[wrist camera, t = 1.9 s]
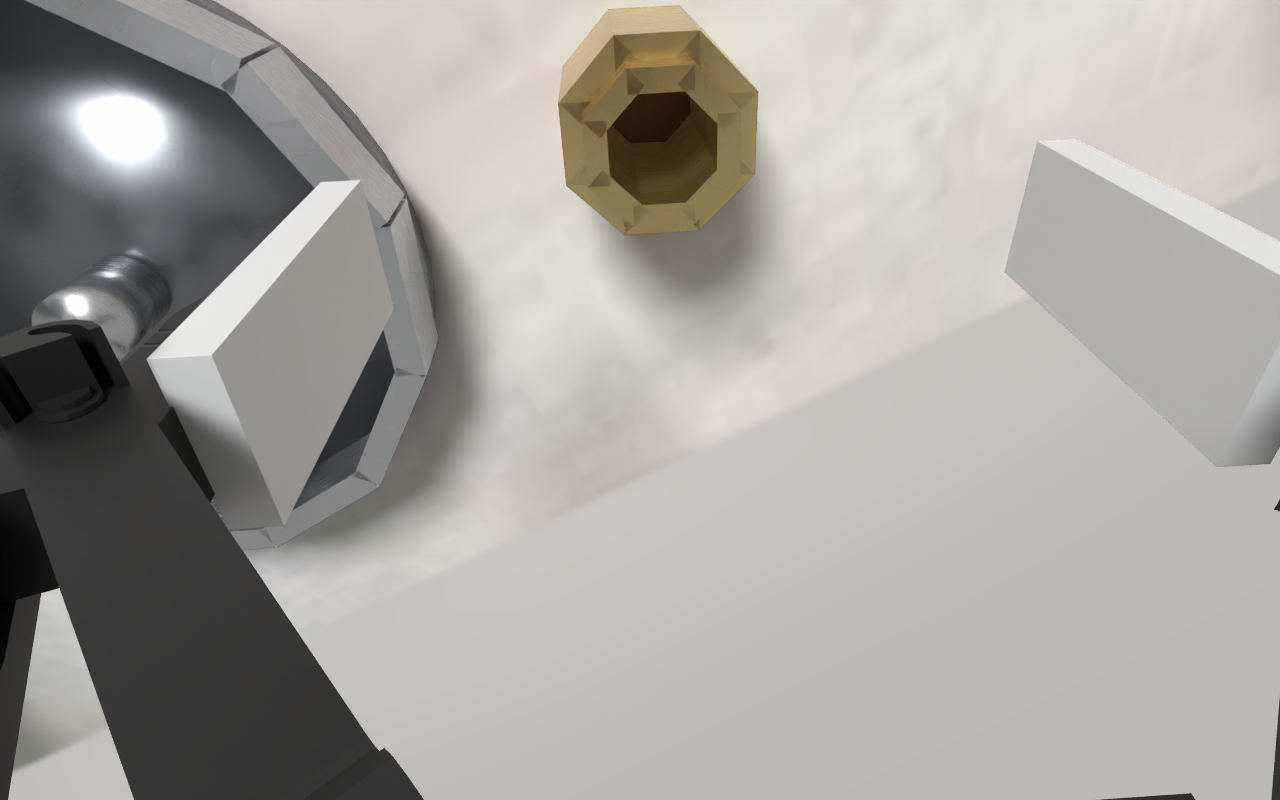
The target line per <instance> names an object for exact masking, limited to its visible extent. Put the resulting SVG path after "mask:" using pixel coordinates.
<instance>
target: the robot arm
mask: <svg viewBox="0 0 1280 800" xmlns="http://www.w3.org/2000/svg"><path fill="white" fill-rule="evenodd" d="M1005 273H1006V274H1007V275H1008V276H1009V277H1010V278H1011V279H1013V280H1014V281H1015V282H1016V283H1017V284H1018V285H1019V286H1020V287H1021V288H1022V289H1023V290H1024V291H1026V292H1027V293H1028V294H1029V295H1030V296H1031V297H1032V298H1033V299H1034V300H1035V301H1036V302H1038V303H1039V304H1040V305H1041V306H1042V307H1043V308H1044V309H1045V310H1046V311H1047V312H1048V313H1050V314H1051V315H1052V316H1053V317H1054V318H1055V319H1056V320H1057V321H1058V322H1059V323H1060V324H1061V325H1063V326H1064V327H1065V328H1066V329H1067V330H1068V331H1069V332H1070V333H1071V334H1072V335H1073V336H1075V337H1076V338H1077V339H1078V340H1079V341H1080V342H1081V343H1082V344H1083V345H1084V346H1085V347H1087V348H1088V349H1089V350H1090V351H1091V352H1092V353H1093V354H1094V355H1095V356H1096V357H1097V358H1098V359H1100V360H1101V361H1102V362H1103V363H1104V364H1105V365H1106V366H1107V367H1108V368H1109V369H1111V370H1112V371H1113V372H1114V373H1115V374H1116V375H1117V376H1118V377H1119V378H1120V379H1121V380H1122V381H1123V382H1125V383H1126V384H1127V385H1128V386H1129V387H1130V388H1131V389H1132V390H1133V391H1134V392H1135V393H1137V394H1138V395H1139V396H1140V397H1141V398H1142V399H1143V400H1144V401H1145V402H1146V403H1147V404H1149V405H1150V406H1151V407H1152V408H1153V409H1154V410H1155V411H1156V412H1157V413H1158V414H1159V415H1161V416H1162V417H1163V418H1164V419H1165V420H1166V421H1167V422H1168V423H1169V424H1170V425H1172V427H1174V428H1175V429H1176V430H1177V431H1178V432H1179V433H1180V434H1181V435H1182V436H1184V438H1185V439H1187V440H1188V441H1189V442H1190V443H1191V444H1192V445H1193V446H1194V447H1195V448H1196V449H1198V450H1199V451H1200V452H1201V453H1202V454H1203V455H1204V456H1205V457H1206V458H1208V460H1209V461H1211V462H1212V463H1213V464H1214V465H1215V466H1216V467H1228V466H1244V465H1259V464H1270V463H1271V461H1272V460H1273V458H1274V456H1275V454H1276V452H1277V451H1278V449H1279V447H1280V241H1278V240H1276V239H1274V238H1273V237H1271V236H1269V235H1266V234H1265V233H1263V232H1260V231H1259V230H1256V229H1254V228H1253V227H1250V226H1249V225H1247V224H1244V223H1243V222H1240V221H1239V220H1236V219H1235V218H1232V217H1231V216H1229V215H1227V214H1225V213H1223V212H1221V211H1219V210H1217V209H1215V208H1213V207H1211V206H1209V205H1207V204H1205V203H1203V202H1201V201H1199V200H1197V199H1195V198H1193V197H1191V196H1189V195H1187V194H1185V193H1183V192H1181V191H1179V190H1177V189H1175V188H1173V187H1171V186H1169V185H1167V184H1165V183H1163V182H1161V181H1159V180H1157V179H1155V178H1153V177H1151V176H1149V175H1147V174H1145V173H1143V172H1141V171H1139V170H1137V169H1135V168H1133V167H1131V166H1129V165H1127V164H1125V163H1123V162H1121V161H1119V160H1117V159H1115V158H1113V157H1111V156H1109V155H1107V154H1105V153H1103V152H1101V151H1099V150H1097V149H1095V148H1093V147H1091V146H1089V145H1087V144H1085V143H1083V142H1081V141H1079V140H1077V139H1068V140H1051V141H1037V144H1036V148H1035V152H1034V156H1033V160H1032V164H1031V168H1030V172H1029V176H1028V180H1027V184H1026V188H1025V192H1024V196H1023V200H1022V204H1021V208H1020V212H1019V216H1018V220H1017V224H1016V228H1015V232H1014V236H1013V240H1012V244H1011V248H1010V252H1009V256H1008V260H1007V264H1006V268H1005ZM393 309H394V307H393V303H392V299H391V296H390V292H389V288H388V284H387V280H386V276H385V272H384V268H383V264H382V260H381V256H380V253H379V249H378V245H377V241H376V237H375V233H374V229H373V225H372V221H371V217H370V213H369V209H368V206H367V202H366V198H365V194H364V190H363V186H362V182H361V180H351V181H333V182H321V183H320V184H319V185H318V186H317V187H316V188H315V189H314V190H313V191H312V192H311V193H310V194H309V195H308V196H307V197H306V198H305V199H304V200H303V201H302V202H301V203H300V204H299V205H298V206H297V207H296V208H295V209H294V210H293V211H292V212H291V213H290V214H289V215H288V216H287V217H286V218H285V219H284V220H283V221H282V222H281V223H280V224H279V225H278V226H277V227H276V228H275V229H274V230H273V231H272V232H271V233H270V234H269V235H268V236H267V237H266V238H265V239H264V240H263V241H262V243H261V244H260V245H259V246H258V247H257V248H256V249H255V250H254V251H253V252H252V253H251V254H250V255H249V256H248V257H247V258H246V259H245V260H244V261H243V262H242V263H241V264H240V265H239V266H238V267H237V268H236V269H235V270H234V271H233V272H232V273H231V274H230V275H229V276H228V277H227V278H226V279H225V280H224V281H223V282H222V283H221V284H220V285H219V286H218V287H217V288H216V289H215V290H214V291H213V292H212V293H211V294H210V295H209V296H208V297H203V298H201V299H199V300H197V301H196V302H194V303H192V304H190V305H188V306H187V307H185V308H183V309H181V310H179V311H178V312H176V313H175V314H174V315H173V316H172V317H171V318H170V319H169V320H168V321H167V322H165V323H164V324H163V325H162V326H161V327H160V328H159V329H158V330H159V333H154V334H153V335H152V336H151V337H150V338H149V339H148V340H147V341H146V342H145V343H144V347H140V348H139V349H138V350H137V351H136V352H135V353H134V354H133V355H132V356H131V357H130V358H129V359H127V360H126V361H125V362H124V363H123V364H122V365H120V363H119V361H118V359H117V357H116V355H115V353H114V351H113V349H112V347H111V345H110V343H109V341H108V339H107V337H106V335H105V333H104V331H103V330H102V328H101V326H100V325H98V324H96V323H94V322H93V321H88V320H77V319H72V320H62V321H53V322H48V323H44V324H39V325H35V326H31V327H27V328H24V329H21V330H18V331H16V332H13V333H10V334H7V335H5V336H2V337H0V425H1V426H2V428H3V429H4V432H5V435H6V437H5V438H0V800H8V796H9V790H10V783H11V777H12V771H13V765H14V759H15V752H16V746H17V740H18V734H19V728H20V721H21V715H22V709H23V703H24V697H25V690H26V684H27V678H28V672H29V666H30V659H31V653H32V647H33V641H34V635H35V628H36V622H37V616H38V610H39V604H40V598H41V593H43V592H47V591H50V590H54V589H57V588H60V591H61V593H62V596H63V599H64V602H65V605H66V608H67V610H68V613H69V616H70V619H71V622H72V625H73V627H74V630H75V633H76V636H77V639H78V642H79V644H80V647H81V650H82V653H83V656H84V659H85V661H86V664H87V667H88V670H89V673H90V676H91V678H92V681H93V684H94V687H95V690H96V693H97V695H98V698H99V701H100V704H101V707H102V710H103V712H104V715H105V718H106V721H107V724H108V727H109V729H110V732H111V735H112V738H113V740H114V744H115V746H116V749H117V752H118V755H119V758H120V761H121V763H122V766H123V769H124V772H125V775H126V777H127V780H128V783H129V785H130V789H131V792H132V795H133V797H134V800H423V798H422V796H421V795H420V794H419V792H418V791H417V789H416V788H415V786H414V785H413V783H412V782H411V780H410V779H409V778H408V776H407V775H406V774H405V772H404V771H403V769H402V768H401V767H400V766H399V764H398V763H397V761H396V760H395V759H394V757H393V756H392V755H391V754H390V753H389V752H388V751H387V750H385V748H383V749H382V750H381V751H379V750H378V749H377V748H376V747H375V746H374V744H373V743H372V742H371V740H370V739H369V738H368V736H367V735H366V733H365V732H364V730H363V729H362V727H361V726H360V724H359V723H358V721H357V720H356V718H355V717H354V715H353V714H352V712H351V711H350V709H349V708H348V706H347V705H346V704H345V702H344V700H343V699H342V697H341V696H340V694H339V693H338V692H337V690H336V689H335V687H334V686H333V684H332V683H331V681H330V680H329V678H328V677H327V675H326V674H325V673H324V671H323V669H322V668H321V666H320V665H319V664H318V662H317V660H316V659H315V657H314V656H313V655H312V653H311V652H310V650H309V649H308V647H307V646H306V644H305V643H304V641H303V640H302V638H301V637H300V635H299V634H298V632H297V631H296V629H295V628H294V626H293V625H292V623H291V622H290V620H289V619H288V617H287V616H286V614H285V613H284V611H283V610H282V608H281V607H280V605H279V604H278V603H277V601H276V600H275V598H274V597H273V595H272V594H271V592H270V591H269V589H268V588H267V586H266V585H265V583H264V582H263V580H262V579H261V577H260V576H259V574H258V573H257V571H256V570H255V568H254V567H253V565H252V564H251V562H250V561H249V559H248V558H247V557H246V555H245V554H244V552H243V551H242V549H241V548H240V546H239V545H238V543H237V542H236V540H235V539H234V537H233V536H232V534H231V533H230V531H229V530H231V529H247V528H262V527H278V526H285V524H286V522H287V520H288V518H289V516H290V514H291V512H292V510H293V508H294V506H295V504H296V502H297V500H298V498H299V496H300V494H301V492H302V490H303V488H304V486H305V484H306V482H307V480H308V478H309V476H310V474H311V472H312V470H313V468H314V466H315V464H316V462H317V460H318V458H319V456H320V454H321V452H322V450H323V448H324V446H325V444H326V442H327V440H328V438H329V436H330V434H331V432H332V430H333V428H334V426H335V424H336V422H337V420H338V418H339V416H340V414H341V412H342V410H343V408H344V406H345V404H346V402H347V400H348V398H349V396H350V394H351V392H352V390H353V388H354V386H355V384H356V383H357V381H358V379H359V377H360V375H361V373H362V371H363V369H364V367H365V365H366V363H367V361H368V359H369V357H370V355H371V353H372V351H373V349H374V347H375V345H376V343H377V341H378V339H379V337H380V335H381V333H382V331H383V329H384V327H385V325H386V323H387V321H388V319H389V317H390V315H391V313H392V311H393ZM213 498H214V500H215V502H216V504H217V506H218V508H219V510H220V512H221V515H222V517H223V519H224V521H225V523H226V525H227V527H228V528H227V527H226V525H225V524H224V522H223V521H222V519H221V518H220V516H219V515H218V514H217V512H216V511H215V509H214V508H213V506H212V505H211V503H210V502H211V500H212V499H213ZM1274 510H1278V511H1280V500H1279V502H1278V504H1277V505H1276V507H1275V509H1274ZM228 529H229V530H228ZM1103 800H1195V799H1194V797H1193V796H1192V794H1191V793H1190V794H1177V795H1161V796H1147V797H1132V798H1118V799H1103ZM1272 800H1280V701H1279V714H1278V726H1277V739H1276V751H1275V763H1274V775H1273V788H1272Z"/></svg>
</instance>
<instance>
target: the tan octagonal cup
mask: <svg viewBox="0 0 1280 800" xmlns="http://www.w3.org/2000/svg"><path fill="white" fill-rule="evenodd" d="M684 91H685V92H686V93H687V94H688V95H689V96H690V115H689V116H688V117H687V118H686V119H685V121H684V122H683V123H682V124H681V125H680V126H679V127H678V128H677V129H676V131H675V132H674V133H673V134H672V135H671V136H670V137H669V138H668V139H667V141H659V142H642V143H631V142H630V141H628V140H627V139H626V138H625V137H624V136H623V135H622V134H621V133H620V132H619V131H618V130H616V129H615V128H614V127H613V126H612V124H613V123H614V122H615V120H616V119H617V118H618V117H619V116H620V115H621V113H622V112H623V111H624V110H625V109H626V108H627V106H628V105H629V104H630V103H631V102H632V100H633V99H634V98H635V97H636V96H637V95H638V94H650V93H667V92H684ZM558 107H559V117H560V127H561V137H562V147H563V157H564V167H565V177H566V186H567V187H568V188H570V189H571V190H572V191H573V192H574V193H575V194H577V195H578V196H579V197H580V198H581V199H583V200H584V201H585V202H586V203H587V204H589V205H590V206H591V207H592V208H593V209H594V210H596V211H597V212H598V213H599V214H600V215H602V216H603V217H604V218H605V219H606V220H608V221H609V222H610V223H611V224H612V225H613V226H615V227H616V228H617V229H618V230H619V231H621V232H622V233H623V234H624V235H633V234H649V233H665V232H680V231H696V230H700V229H701V228H702V227H703V226H704V225H705V224H706V223H707V222H708V221H709V220H710V219H711V218H712V217H713V216H714V215H715V214H716V213H717V212H718V211H719V210H720V209H721V208H722V207H723V206H724V205H725V204H726V203H727V202H728V201H729V200H730V199H731V198H732V197H733V196H734V195H735V194H736V193H737V192H738V191H739V190H740V189H741V188H742V187H743V186H744V185H745V183H746V182H747V181H748V180H749V179H750V178H751V177H752V176H753V175H754V174H755V155H756V132H757V109H758V91H757V89H756V88H755V87H754V86H753V85H752V84H751V83H750V81H749V80H748V79H747V78H746V77H745V76H744V75H743V73H742V72H741V71H740V70H739V69H738V68H737V67H736V65H735V64H734V63H733V62H732V61H731V60H730V59H729V57H728V56H727V55H726V54H725V53H724V52H723V51H722V50H721V49H720V48H719V47H718V46H717V45H716V44H715V43H714V42H713V41H712V40H711V38H710V37H709V36H708V35H707V34H706V33H705V32H704V31H703V30H702V29H701V28H700V27H699V26H698V25H697V24H696V23H695V22H694V20H693V19H692V18H691V17H690V16H689V15H688V14H687V13H686V12H685V11H684V10H683V9H682V8H681V7H680V6H679V5H677V6H660V7H642V8H624V9H608V11H607V12H606V13H605V14H604V16H603V17H602V18H601V19H600V21H599V22H598V23H597V24H596V26H595V27H594V28H593V29H592V31H591V32H590V33H589V35H588V36H587V37H586V38H585V40H584V41H583V42H582V43H581V45H580V46H579V47H578V48H577V50H576V51H575V52H574V53H573V55H572V56H571V57H570V59H569V60H568V61H567V62H566V64H565V65H564V66H563V71H562V78H561V86H560V93H559V100H558Z"/></svg>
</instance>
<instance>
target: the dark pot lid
mask: <svg viewBox="0 0 1280 800" xmlns="http://www.w3.org/2000/svg"><path fill="white" fill-rule="evenodd" d="M351 180H361V182H362V186H363V190H364V194H365V198H366V202H367V206H368V209H369V213H370V217H371V221H372V225H373V229H374V233H375V237H376V241H377V245H378V249H379V253H380V256H381V260H382V264H383V268H384V272H385V276H386V280H387V284H388V288H389V292H390V296H391V299H392V303H393V307H394V309H393V311H392V313H391V315H390V317H389V319H388V321H387V323H386V325H385V327H384V329H383V331H382V333H381V335H380V337H379V339H378V341H377V343H376V345H375V347H374V349H373V351H372V353H371V355H370V357H369V359H368V361H367V363H366V365H365V367H364V369H363V371H362V373H361V375H360V377H359V379H358V381H357V383H356V384H355V386H354V388H353V390H352V392H351V394H350V396H349V398H348V400H347V402H346V404H345V406H344V408H343V410H342V412H341V414H340V416H339V418H338V420H337V422H336V424H335V426H334V428H333V430H332V432H331V434H330V436H329V438H328V440H327V442H326V444H325V446H324V448H323V450H322V452H321V454H320V456H319V458H318V460H317V462H316V464H315V466H314V468H313V470H312V472H311V474H310V476H309V478H308V480H307V482H306V484H305V486H304V488H303V490H302V492H301V494H300V496H299V498H298V500H297V502H296V504H295V506H294V508H293V510H292V512H291V514H290V516H289V518H288V520H287V522H286V524H285V526H278V527H262V528H247V529H231V530H229V529H228V530H229V531H230V533H231V534H232V536H233V537H234V539H235V540H236V542H237V543H238V545H239V546H240V548H241V549H242V550H249V549H263V548H275V546H276V545H277V546H280V545H282V544H283V543H285V542H287V541H288V540H290V539H292V538H294V537H295V536H297V535H299V534H300V533H302V532H304V531H305V530H307V529H309V528H311V527H312V526H314V525H316V524H317V523H319V522H321V521H322V520H324V519H326V518H328V517H329V516H331V515H333V514H334V513H336V512H338V511H339V510H341V509H343V508H345V507H346V506H348V505H350V504H351V503H353V502H355V501H356V500H358V499H360V498H362V497H363V496H365V495H367V494H368V493H370V492H372V491H373V490H375V489H377V488H378V487H379V485H381V483H382V480H383V478H384V476H385V473H386V471H387V469H388V466H389V464H390V461H391V459H392V457H393V454H394V452H395V450H396V447H397V445H398V443H399V440H400V438H401V436H402V433H403V431H404V429H405V426H406V424H407V421H408V419H409V417H410V414H411V412H412V410H413V407H414V405H415V403H416V400H417V398H418V396H419V393H420V391H421V389H422V386H423V384H424V381H425V379H426V376H427V373H428V370H429V367H430V364H431V361H432V358H433V355H434V352H435V349H436V346H437V343H438V342H437V340H438V335H437V330H436V326H435V321H434V285H433V278H432V272H431V265H430V258H429V255H428V251H427V248H426V244H425V241H424V237H423V234H422V230H421V227H420V224H419V221H418V219H417V217H416V214H415V212H414V210H413V207H412V205H411V203H410V200H409V198H408V196H407V194H406V191H405V189H404V187H403V185H402V183H401V182H400V180H399V178H398V177H397V175H396V173H395V171H394V170H393V168H392V166H391V165H390V163H389V161H388V159H387V158H386V156H385V154H384V153H383V151H382V150H381V148H380V147H379V146H378V144H377V143H376V142H375V140H374V139H373V138H372V136H371V135H370V134H369V132H368V131H367V130H366V128H365V127H364V126H363V124H362V123H361V122H360V120H359V119H358V118H357V116H356V115H355V114H354V113H353V112H352V111H351V110H350V108H349V107H348V106H347V105H346V104H345V103H344V102H343V101H342V100H341V99H340V98H339V97H338V96H337V94H336V93H335V92H334V91H333V90H332V89H331V88H330V87H329V86H328V85H327V84H326V83H325V82H324V80H322V79H321V78H320V77H319V76H318V75H317V74H316V73H314V72H313V71H312V70H311V69H310V68H309V67H308V66H306V65H305V64H304V63H303V62H302V61H301V60H299V59H298V58H297V57H296V56H295V55H294V54H293V53H291V52H290V51H289V50H288V49H287V48H286V47H284V46H283V45H282V44H280V43H279V42H277V41H276V40H274V39H273V38H272V37H270V36H269V35H267V34H266V33H264V32H263V31H262V30H260V29H259V28H257V27H256V26H254V25H253V24H252V23H250V22H249V21H247V20H246V19H244V18H243V17H241V16H240V15H238V14H236V13H234V12H232V11H231V10H229V9H227V8H225V7H223V6H222V5H220V4H218V3H216V2H214V1H213V0H0V337H2V336H5V335H7V334H10V333H13V332H16V331H18V330H21V329H24V328H27V327H31V326H35V325H39V324H44V323H48V322H53V321H62V320H72V319H77V320H88V321H93V322H94V323H96V324H98V325H100V326H101V328H102V330H103V331H104V333H105V335H106V337H107V339H108V341H109V343H110V345H111V347H112V349H113V351H114V353H115V355H116V357H117V359H118V361H119V363H120V365H122V364H123V363H124V362H125V361H126V360H127V359H129V358H130V357H131V356H132V355H133V354H134V353H135V352H136V351H137V350H138V349H139V348H140V347H144V343H145V342H146V341H147V340H148V339H149V338H150V337H151V336H152V335H153V334H154V333H159V330H158V329H159V328H160V327H161V326H162V325H163V324H164V323H165V322H167V321H168V320H169V319H170V318H171V317H172V316H173V315H174V314H175V313H176V312H178V311H179V310H181V309H183V308H185V307H187V306H188V305H190V304H192V303H194V302H196V301H197V300H199V299H201V298H203V297H208V296H209V295H210V294H211V293H212V292H213V291H214V290H215V289H216V288H217V287H218V286H219V285H220V284H221V283H222V282H223V281H224V280H225V279H226V278H227V277H228V276H229V275H230V274H231V273H232V272H233V271H234V270H235V269H236V268H237V267H238V266H239V265H240V264H241V263H242V262H243V261H244V260H245V259H246V258H247V257H248V256H249V255H250V254H251V253H252V252H253V251H254V250H255V249H256V248H257V247H258V246H259V245H260V244H261V243H262V241H263V240H264V239H265V238H266V237H267V236H268V235H269V234H270V233H271V232H272V231H273V230H274V229H275V228H276V227H277V226H278V225H279V224H280V223H281V222H282V221H283V220H284V219H285V218H286V217H287V216H288V215H289V214H290V213H291V212H292V211H293V210H294V209H295V208H296V207H297V206H298V205H299V204H300V203H301V202H302V201H303V200H304V199H305V198H306V197H307V196H308V195H309V194H310V193H311V192H312V191H313V190H314V189H315V188H316V187H317V186H318V185H319V184H320V183H321V182H333V181H351ZM5 437H6V435H5V432H4V429H3V428H2V426H1V425H0V438H5ZM211 505H212V506H213V508H214V509H215V511H216V512H217V514H218V515H219V516H220V518H221V519H222V521H223V522H224V524H225V525H226V523H225V521H224V519H223V517H222V515H221V512H220V510H219V508H218V506H217V504H216V502H215V500H214V498H213V499H212V501H211ZM226 527H227V525H226ZM227 528H228V527H227Z"/></svg>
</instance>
